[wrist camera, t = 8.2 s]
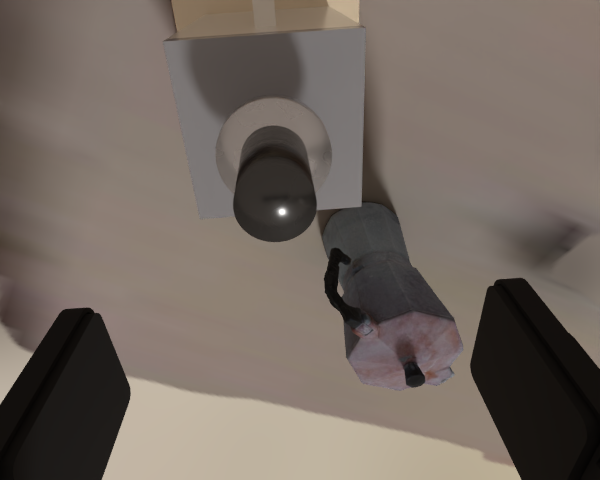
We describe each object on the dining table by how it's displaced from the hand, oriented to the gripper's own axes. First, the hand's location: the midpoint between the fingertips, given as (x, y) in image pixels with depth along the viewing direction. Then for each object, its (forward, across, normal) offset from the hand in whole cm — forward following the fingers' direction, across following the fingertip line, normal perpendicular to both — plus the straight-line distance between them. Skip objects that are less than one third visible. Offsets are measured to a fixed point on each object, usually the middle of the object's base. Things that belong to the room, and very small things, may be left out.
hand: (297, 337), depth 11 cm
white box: (+33, +1, 0) cm, 33 cm away
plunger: (+30, +1, 0) cm, 30 cm away
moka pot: (+33, -7, +18) cm, 38 cm away
